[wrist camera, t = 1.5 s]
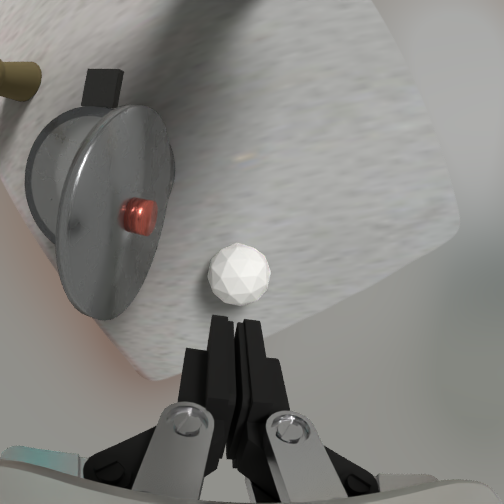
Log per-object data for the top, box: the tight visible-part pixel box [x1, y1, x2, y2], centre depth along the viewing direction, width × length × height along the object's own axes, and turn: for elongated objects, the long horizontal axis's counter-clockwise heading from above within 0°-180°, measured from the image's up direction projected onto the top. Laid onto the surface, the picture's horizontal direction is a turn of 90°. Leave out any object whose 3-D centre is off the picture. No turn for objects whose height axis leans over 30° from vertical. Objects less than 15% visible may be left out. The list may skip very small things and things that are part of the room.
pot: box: [25, 69, 175, 245], centre depth 34 cm, size 24×16×10 cm, turn 169°
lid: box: [55, 105, 170, 320], centre depth 23 cm, size 16×16×3 cm
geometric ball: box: [207, 243, 271, 306], centre depth 41 cm, size 8×8×8 cm
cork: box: [0, 60, 42, 102], centre depth 27 cm, size 6×6×11 cm
